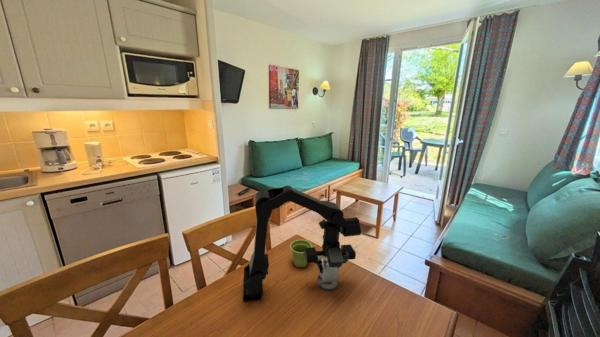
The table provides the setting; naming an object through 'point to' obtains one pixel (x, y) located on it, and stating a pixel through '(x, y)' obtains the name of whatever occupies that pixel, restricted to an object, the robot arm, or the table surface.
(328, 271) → the block with round boss
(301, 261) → the plant pot
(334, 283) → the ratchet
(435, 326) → the table surface
